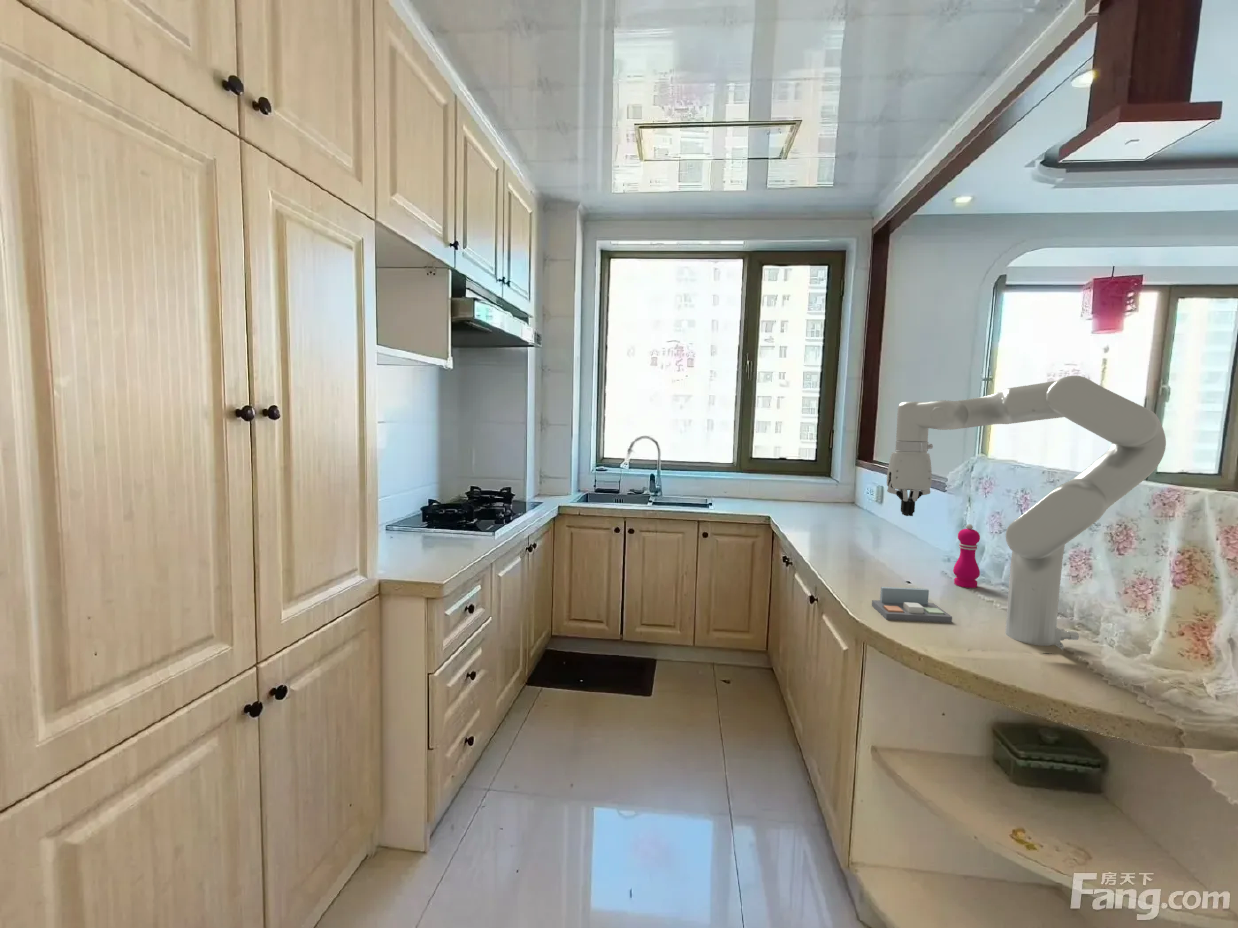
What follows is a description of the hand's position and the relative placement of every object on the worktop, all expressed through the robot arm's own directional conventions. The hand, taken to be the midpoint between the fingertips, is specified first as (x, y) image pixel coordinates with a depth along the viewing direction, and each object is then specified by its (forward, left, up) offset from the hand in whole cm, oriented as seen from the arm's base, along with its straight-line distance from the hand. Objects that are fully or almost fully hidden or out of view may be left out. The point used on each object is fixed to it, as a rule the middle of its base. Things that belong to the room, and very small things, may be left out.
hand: (907, 515), depth 147 cm
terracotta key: (+5, +7, -27) cm, 28 cm away
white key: (0, +7, -26) cm, 27 cm away
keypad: (0, +5, -27) cm, 28 cm away
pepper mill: (-31, -29, -27) cm, 50 cm away
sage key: (-5, +7, -27) cm, 28 cm away
